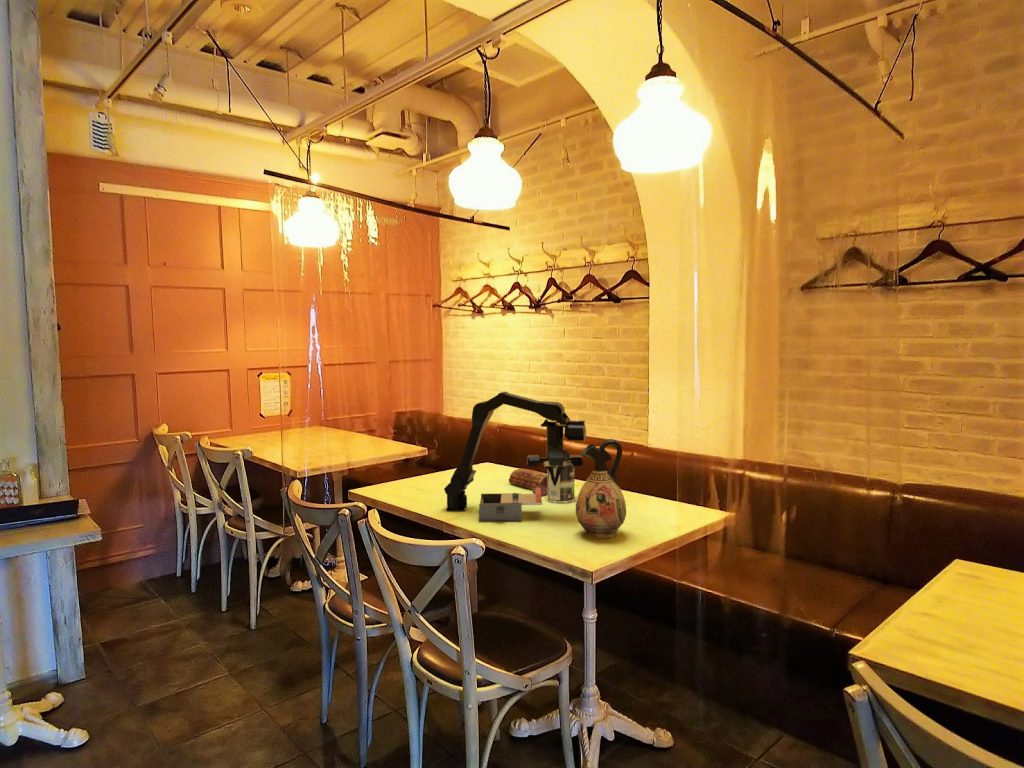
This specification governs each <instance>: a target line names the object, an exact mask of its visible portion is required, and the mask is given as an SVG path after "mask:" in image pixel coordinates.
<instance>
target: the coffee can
mask: <svg viewBox="0 0 1024 768" xmlns="http://www.w3.org/2000/svg"><path fill="white" fill-rule="evenodd" d="M546 470H547V475H548V494H547V501H548V502H550V503H554V504H567V503H568V504H569V503H572V502H575V466H574V465H573V464H572V463H566V468H563V470H562V471H561V473H560V475H559V478H558V481H557V484H556V486H554V485H553V481H552V478H551V475H550V473H549V470H548V469H547V468H546ZM553 470H554V478H555V473H556V465H554V466H553Z"/></svg>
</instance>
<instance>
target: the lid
mask: <svg viewBox="0 0 1024 768" xmlns="http://www.w3.org/2000/svg"><path fill="white" fill-rule="evenodd" d="M512 493H513V494H501V493H500V494H501V503H522V506H543V498H542V496H541V489H540V487H536V494H533V493H521V494H518V492H512Z"/></svg>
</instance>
